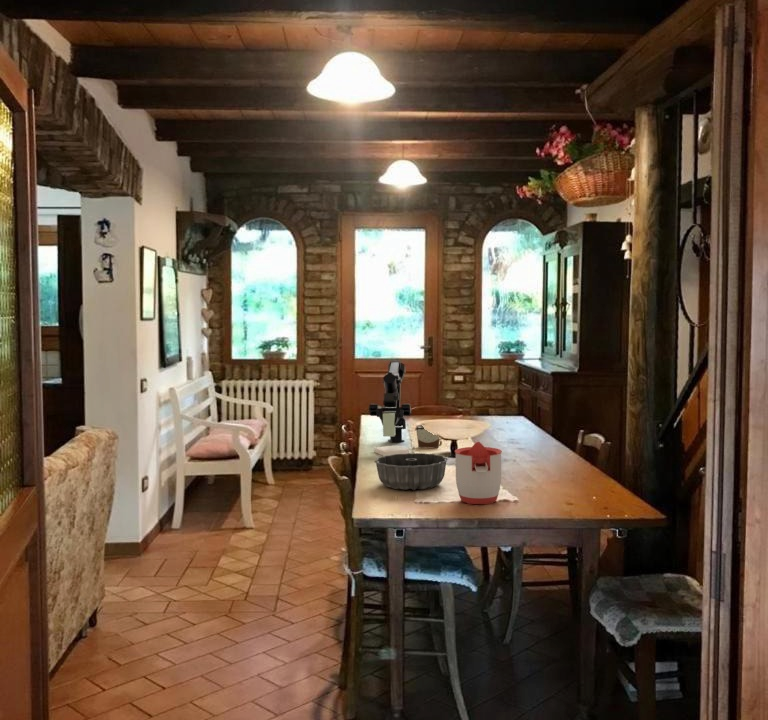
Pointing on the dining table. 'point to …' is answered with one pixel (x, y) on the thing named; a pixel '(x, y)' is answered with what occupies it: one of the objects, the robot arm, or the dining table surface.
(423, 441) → the food container
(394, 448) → the plate
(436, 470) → the bundt pan
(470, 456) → the citrus juicer
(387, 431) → the sage block
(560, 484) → the dining table surface
